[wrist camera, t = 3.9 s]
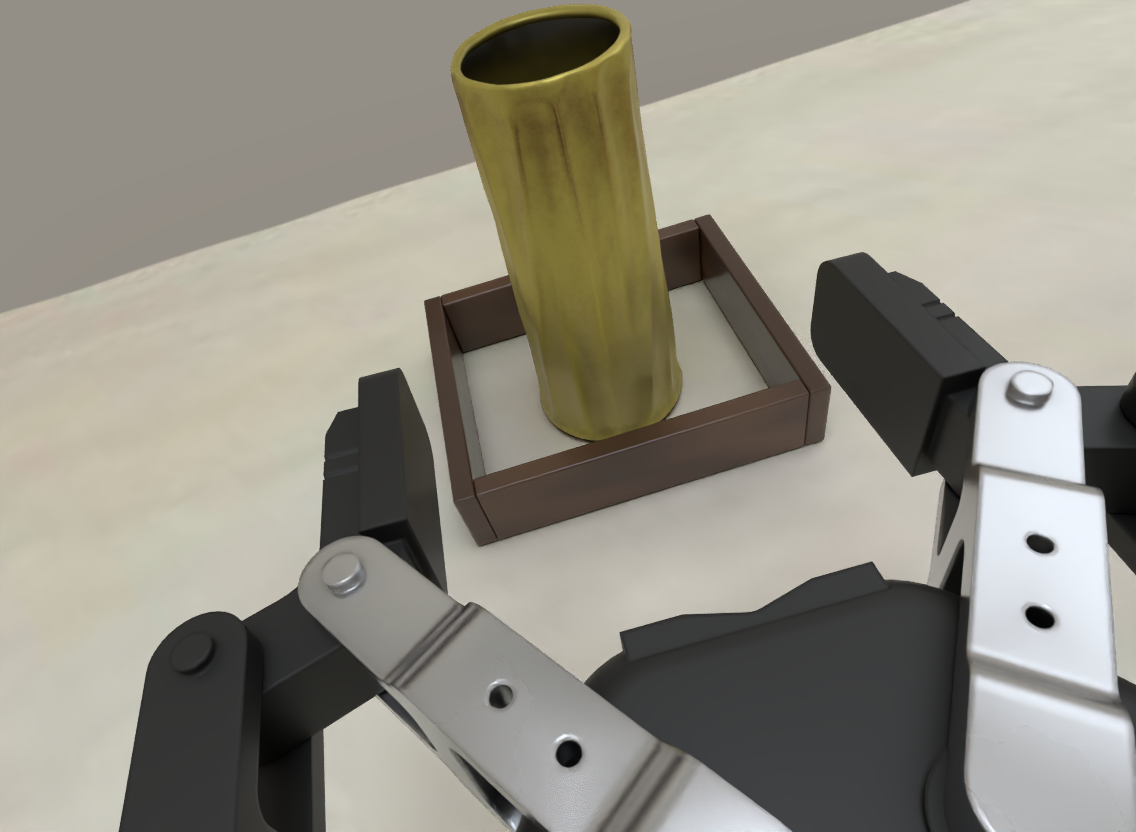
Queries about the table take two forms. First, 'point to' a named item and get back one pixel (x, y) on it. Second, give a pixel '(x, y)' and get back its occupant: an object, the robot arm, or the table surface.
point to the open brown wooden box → (643, 453)
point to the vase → (574, 211)
